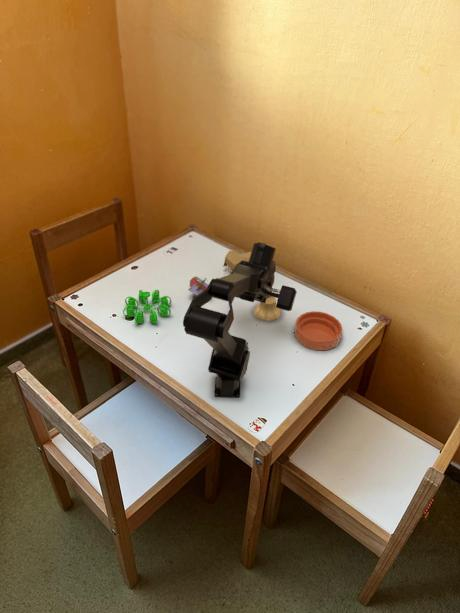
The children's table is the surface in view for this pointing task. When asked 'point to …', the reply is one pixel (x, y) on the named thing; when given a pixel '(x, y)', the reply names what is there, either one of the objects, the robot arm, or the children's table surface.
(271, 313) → the hand bell
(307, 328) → the bowl
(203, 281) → the geometric puzzle
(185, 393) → the children's table surface
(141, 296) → the chandelier
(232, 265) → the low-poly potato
